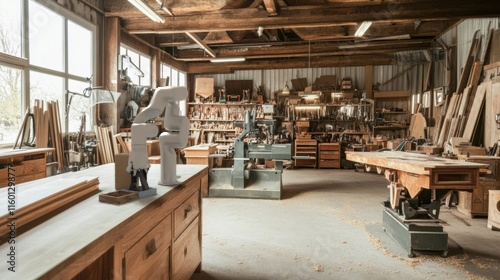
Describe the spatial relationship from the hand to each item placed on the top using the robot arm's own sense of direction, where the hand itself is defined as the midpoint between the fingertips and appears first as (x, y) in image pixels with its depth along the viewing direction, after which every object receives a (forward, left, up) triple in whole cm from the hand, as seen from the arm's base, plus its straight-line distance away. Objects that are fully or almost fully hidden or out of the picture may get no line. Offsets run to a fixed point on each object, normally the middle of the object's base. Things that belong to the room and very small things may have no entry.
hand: (139, 181), depth 164 cm
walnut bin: (+13, 0, -7) cm, 15 cm away
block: (-7, -16, -7) cm, 19 cm away
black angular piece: (0, 0, -4) cm, 4 cm away
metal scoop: (+7, -11, -7) cm, 15 cm away
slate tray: (0, 0, -7) cm, 7 cm away
